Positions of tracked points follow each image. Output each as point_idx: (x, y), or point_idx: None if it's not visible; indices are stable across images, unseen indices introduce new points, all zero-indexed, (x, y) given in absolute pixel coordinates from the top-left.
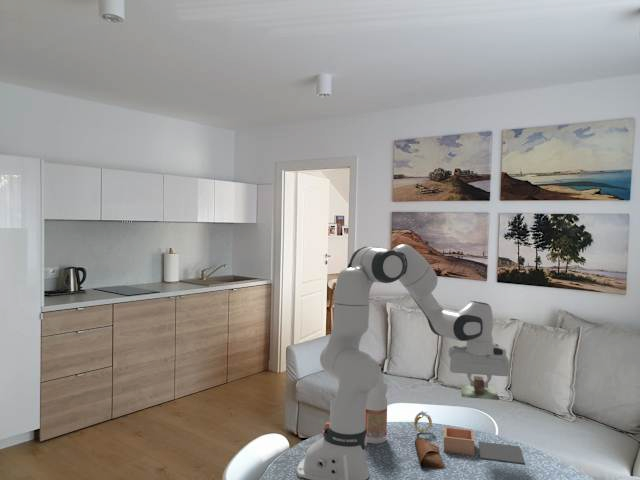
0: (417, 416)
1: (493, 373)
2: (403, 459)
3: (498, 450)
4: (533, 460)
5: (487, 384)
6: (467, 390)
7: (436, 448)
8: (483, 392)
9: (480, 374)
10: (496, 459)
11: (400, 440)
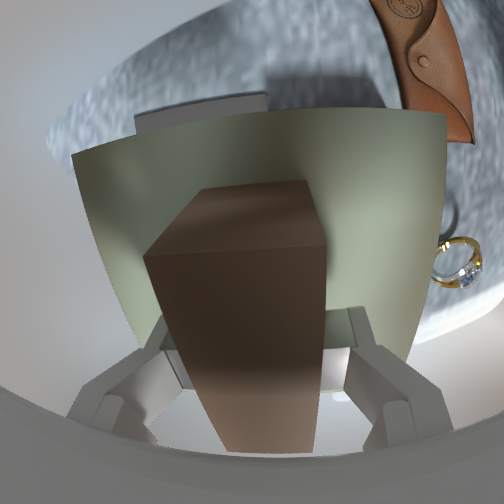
0: (480, 262)
1: (13, 420)
2: (476, 40)
3: None
4: None
5: (155, 333)
6: (378, 277)
7: (417, 74)
8: (202, 194)
9: (207, 454)
10: (213, 100)
11: (495, 168)
